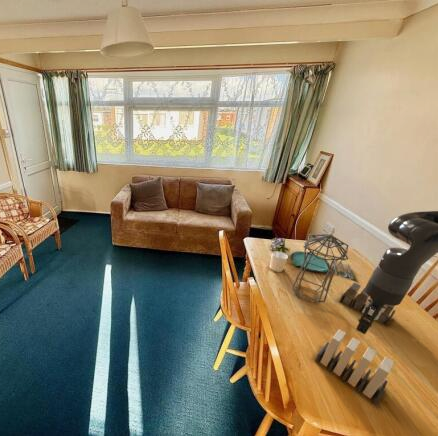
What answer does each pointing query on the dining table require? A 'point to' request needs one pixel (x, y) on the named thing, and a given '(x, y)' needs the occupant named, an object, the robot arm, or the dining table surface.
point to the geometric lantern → (333, 240)
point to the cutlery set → (316, 263)
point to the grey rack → (360, 301)
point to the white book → (346, 356)
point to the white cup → (278, 261)
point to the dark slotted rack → (358, 367)
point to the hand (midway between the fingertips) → (365, 324)
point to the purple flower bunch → (279, 243)
